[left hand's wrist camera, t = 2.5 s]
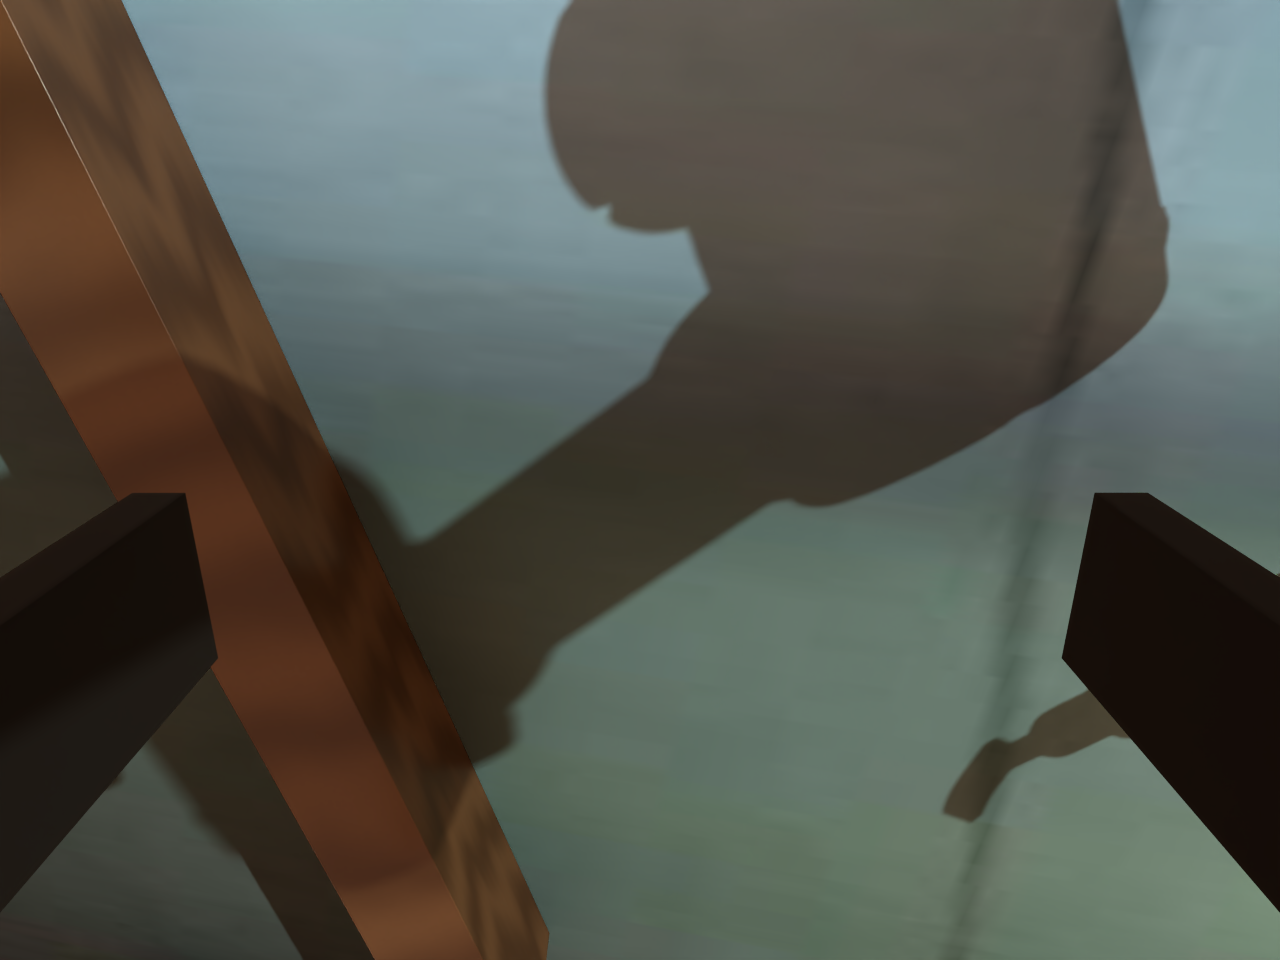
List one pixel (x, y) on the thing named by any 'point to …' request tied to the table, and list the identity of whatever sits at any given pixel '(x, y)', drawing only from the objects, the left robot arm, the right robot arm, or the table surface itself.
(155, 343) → the post
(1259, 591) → the left robot arm
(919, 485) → the table surface
